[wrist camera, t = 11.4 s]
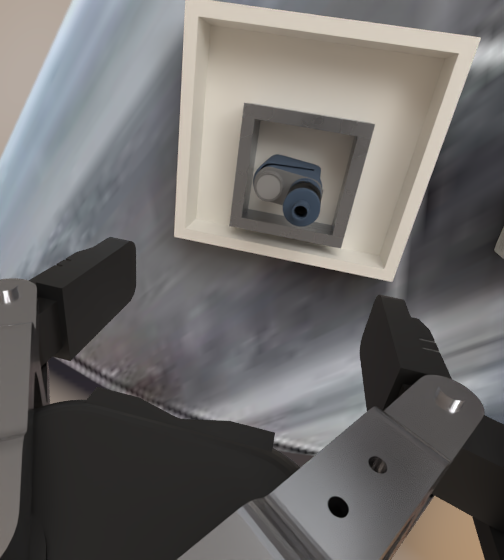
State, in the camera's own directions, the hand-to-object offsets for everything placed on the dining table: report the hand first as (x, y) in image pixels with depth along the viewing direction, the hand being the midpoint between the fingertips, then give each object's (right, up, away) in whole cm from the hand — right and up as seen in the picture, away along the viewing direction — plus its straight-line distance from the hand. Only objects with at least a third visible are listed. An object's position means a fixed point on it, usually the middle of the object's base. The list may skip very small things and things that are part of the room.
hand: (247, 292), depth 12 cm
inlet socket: (+4, +10, +21) cm, 24 cm away
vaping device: (+4, +10, +21) cm, 23 cm away
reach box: (+5, +12, +20) cm, 24 cm away
